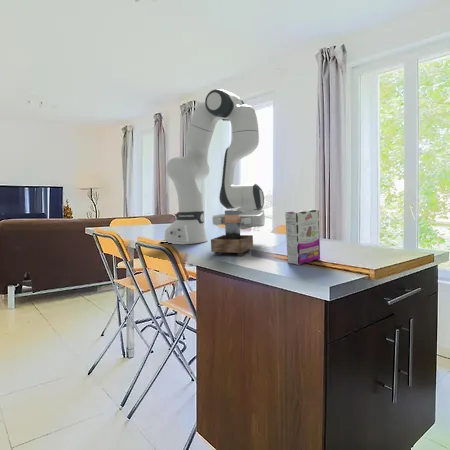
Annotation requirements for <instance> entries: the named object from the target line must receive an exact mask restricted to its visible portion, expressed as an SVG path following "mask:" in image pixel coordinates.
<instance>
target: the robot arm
mask: <svg viewBox="0 0 450 450" xmlns="http://www.w3.org/2000/svg"><path fill="white" fill-rule="evenodd" d="M220 120H222V121H227V122H228V121H229V122H230V124H231V141H230V144H229V146H228V147H227V148H226V149H225V153H224V156H223V166H222V177H221V186H220V191H219V196H218V197H219V203H220V204H221V205H222V206H223V207H224V208H225V209H227V210H233V209H235V210H239V212H240V230H246V229H251V228H255V227H256V228H258V227H259V228H260V227H264V226H265V220H266V219H265V210H264V209H263V208H264V205H265V196H264V191H263V189H262V188H261V187H260V186H259V185H258V184H257V183H245V184H237V185H236V184H234V177H235V175H234V174H235V167H236V164H237V163H238V162H239V161H241V160H242V159H244V158H246V157H247V156H249V155H250V154H253V152H254V151H255V150H257V148H258V146H259V142H260V139H259V138H260V134H259V131H260V130H259V124H258V117H257V113H256V110H255V108H254V107H253V106H251V105H248V104H245V102H244V100H243V99H242V98H241V97H240V96H238V95H236V94H234V93H233V92H231V91H227V90H224V89H222V88H221V89H220V88H218V89H212V90H210V91H209V92H208V93H207V94H206V97H205V99H204V101H202V102H200V103H198V104H197V106H196V108H195V109H194V112H193V114H192V116H191V119H190V122H189V125H188V128H187V131H186V135H185V138H184V143H185V145H186V156H181V155H180V156H175V157H173V158H170V159H169V160H168V162H167V164H166V166H165V169H166V174H167V176H168V177H169V179H171V180H172V182H173V185H174V187H175V190H176V194H177V204H178V212H177V213H174V214H173V215H174V216H173V217H175V221H172V223H171V224H170V225H169V226H167V228H165V231H164V238H162V239H160V240H161V241H166V242H169V243H172V244H171V245H183V246H184V245H189V244H190V245H191V244H199V243H205V242H208V237H207V233H206V228H205V212H204V209H203V207H204V206H203V194H202V192H201V191H200V189H199V188H198V185H197V182H199V181H202V180H205V179H206V178H207V177H208V176H209V173H210V166H209V164H208V163H209V162H208V157H209V148H210V144H211V141H212V137H213V135H214V132H215V131H214V130H215V127H216V125H217V123H218V122H219V121H220ZM236 208H237V209H236ZM212 224H213V225H216V226H225V213H222V214H215V215H212Z"/></svg>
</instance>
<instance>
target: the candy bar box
mask: <svg viewBox="0 0 450 450" xmlns="http://www.w3.org/2000/svg"><path fill="white" fill-rule="evenodd" d="M319 213H320V210H319V209H314V208H313V209H311V208H309V209H307V208H306V209H301V210H294V211H293V210H291V211H286V212H285V230H286V232H285V233H286V255H287V257H286V258H287V259H286V260H287V264H289V265H296V266H302V265H304V264H309V263H311V261H312V262H314V261H313V260H316V259H319V260H320V259H321V247H320V245H321V244H320V243H321V242H320V241H321V239H320V214H319ZM316 261H317V260H316Z"/></svg>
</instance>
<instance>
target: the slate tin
mask: <svg viewBox="0 0 450 450" xmlns="http://www.w3.org/2000/svg"><path fill="white" fill-rule="evenodd" d="M224 214H225V225H224V233H225V234H224V235H226V239H230V240H240V235H241V229H240V212H239V210H236V209H227V210H224Z"/></svg>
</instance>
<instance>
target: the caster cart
mask: <svg viewBox="0 0 450 450" xmlns="http://www.w3.org/2000/svg"><path fill="white" fill-rule="evenodd" d="M253 248H254V238H253V235H252V234H251V235H250V234H247V235H246V234H240V240H230V239H226V235H225V234H222V235H220V236H217V237H214V238H211V239H210V249H211V251H210V252H212V253H214V255H215V256H219V255H220V253H233V254H234V253H236V254H237V257H241V256H243V253H245V252H247V253H248V252H250V251H252V250H251V249H253Z"/></svg>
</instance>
